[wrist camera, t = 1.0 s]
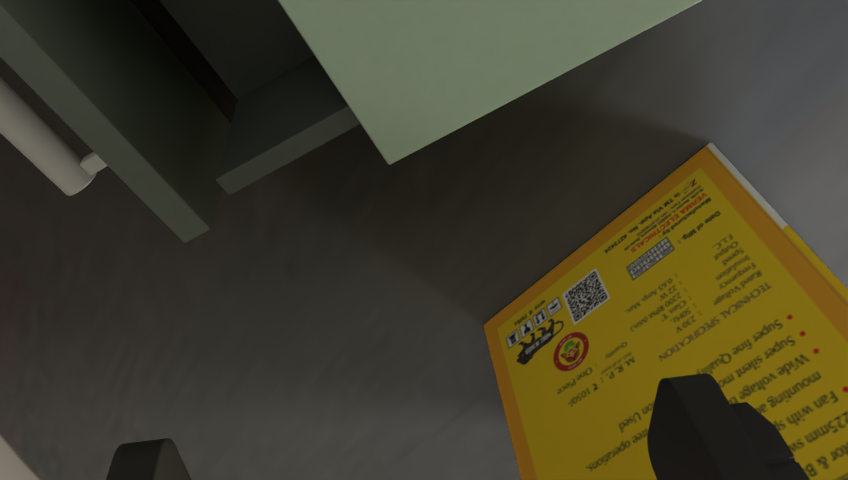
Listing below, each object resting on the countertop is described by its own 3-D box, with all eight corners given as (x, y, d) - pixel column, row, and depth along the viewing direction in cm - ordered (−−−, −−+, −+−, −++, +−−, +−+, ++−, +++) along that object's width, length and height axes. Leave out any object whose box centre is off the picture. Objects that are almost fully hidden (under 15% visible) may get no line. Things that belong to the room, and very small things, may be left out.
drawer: (142, 183, 32) (94, 292, 26) (-72, -38, 25) (-205, 35, 19) (479, -9, 28) (520, 63, 22) (329, -325, 22) (324, -350, 15)
